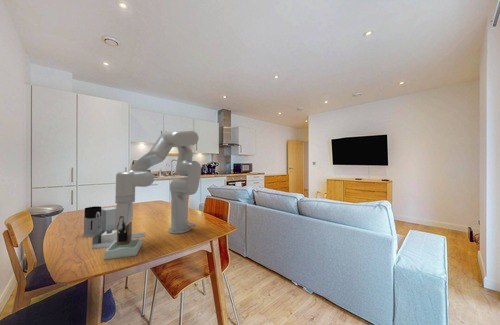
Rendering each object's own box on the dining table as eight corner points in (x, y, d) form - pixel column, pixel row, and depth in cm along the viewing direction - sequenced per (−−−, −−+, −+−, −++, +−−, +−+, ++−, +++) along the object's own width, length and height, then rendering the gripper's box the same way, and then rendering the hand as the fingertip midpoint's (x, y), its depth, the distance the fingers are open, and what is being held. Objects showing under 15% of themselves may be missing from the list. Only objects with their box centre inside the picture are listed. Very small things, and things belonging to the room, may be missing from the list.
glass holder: (99, 230, 117) (99, 205, 117) (108, 235, 109) (109, 208, 109) (80, 234, 110) (80, 208, 110) (89, 240, 102) (89, 211, 102)
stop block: (131, 240, 91) (131, 221, 92) (128, 244, 87) (129, 224, 87) (120, 241, 90) (120, 222, 90) (116, 245, 86) (117, 225, 86)
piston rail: (144, 236, 109) (144, 227, 109) (140, 243, 98) (140, 233, 98) (102, 240, 103) (102, 230, 103) (92, 248, 92) (92, 238, 92)
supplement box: (119, 228, 121) (119, 207, 121) (105, 231, 115) (105, 210, 115) (113, 226, 125) (113, 206, 125) (99, 229, 119) (100, 208, 119)
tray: (141, 245, 96) (142, 238, 96) (135, 256, 85) (136, 248, 85) (114, 248, 93) (114, 241, 93) (104, 259, 81) (104, 251, 82)
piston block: (117, 239, 102) (117, 227, 102) (112, 244, 97) (113, 231, 97) (105, 240, 101) (106, 228, 101) (100, 245, 95) (101, 232, 95)
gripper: (121, 196, 96) (121, 233, 96) (108, 202, 80) (107, 247, 79) (139, 195, 98) (138, 232, 98) (129, 202, 82) (128, 245, 82)
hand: (124, 238), depth 89 cm, fingers closed on stop block, 4 cm apart
